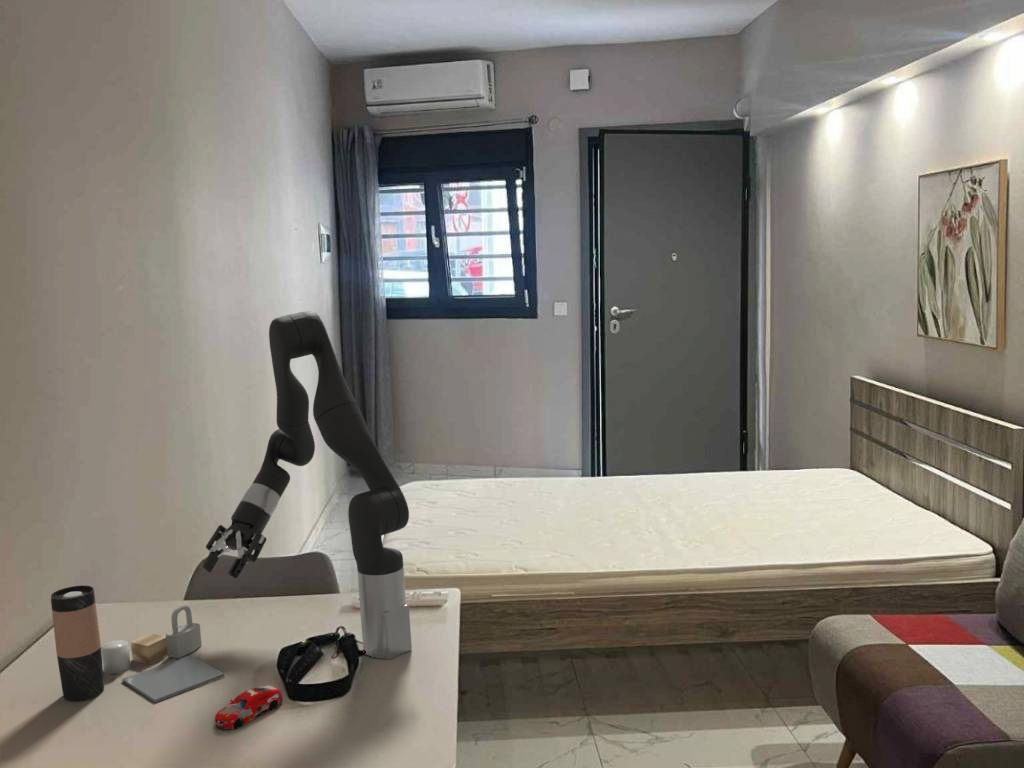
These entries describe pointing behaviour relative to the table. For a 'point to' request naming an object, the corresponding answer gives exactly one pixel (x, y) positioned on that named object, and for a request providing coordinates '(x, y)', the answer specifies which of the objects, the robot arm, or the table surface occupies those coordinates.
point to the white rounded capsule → (115, 657)
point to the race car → (248, 707)
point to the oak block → (149, 648)
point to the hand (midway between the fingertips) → (218, 573)
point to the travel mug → (77, 642)
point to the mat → (172, 678)
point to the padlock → (183, 635)
